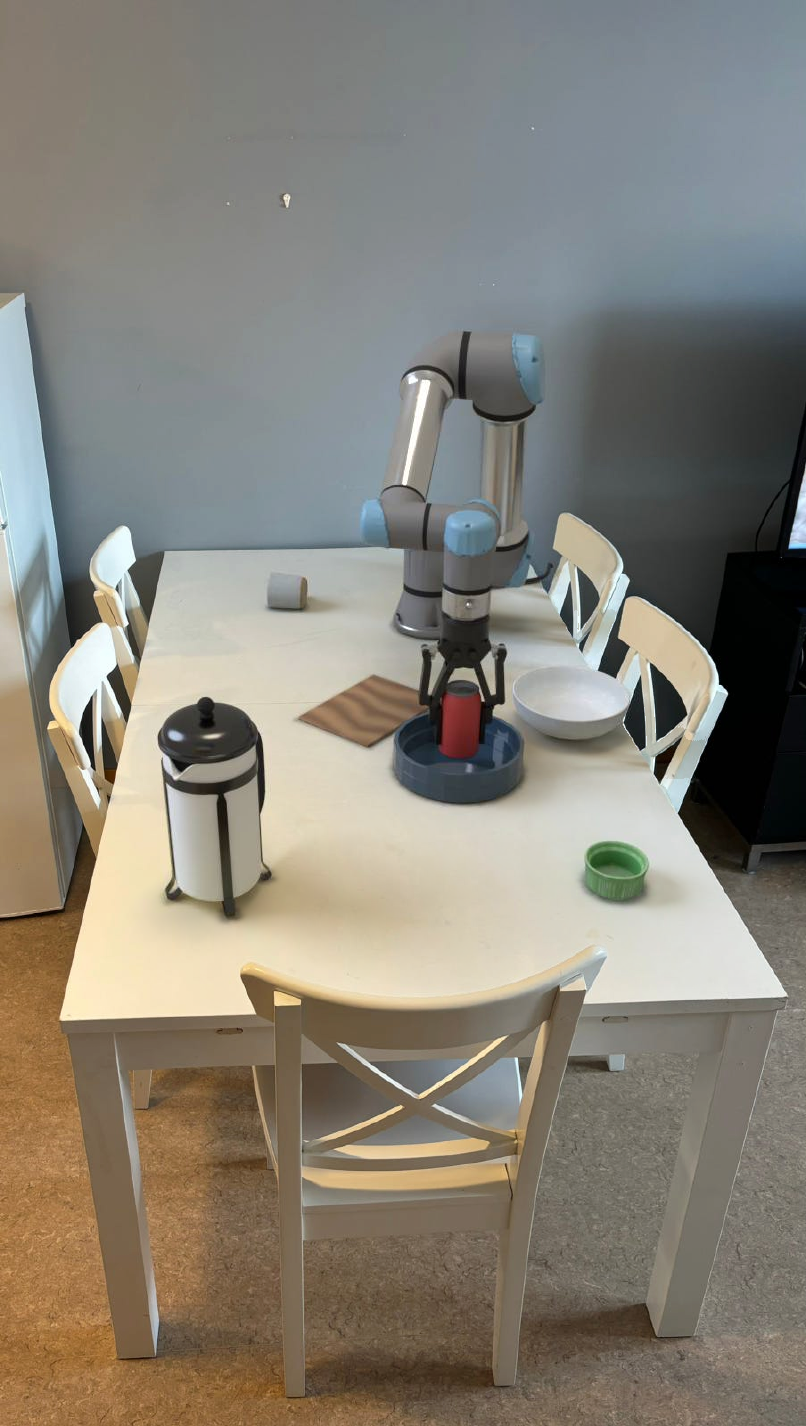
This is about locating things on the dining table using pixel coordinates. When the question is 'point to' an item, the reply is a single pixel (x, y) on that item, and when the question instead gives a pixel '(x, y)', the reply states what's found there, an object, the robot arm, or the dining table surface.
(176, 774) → the coffee press
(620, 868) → the ramekin
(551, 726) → the serving bowl
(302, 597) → the grey cylinder
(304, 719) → the wooden cutting board
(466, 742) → the beer can
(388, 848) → the dining table surface
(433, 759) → the blue bowl
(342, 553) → the dining table surface
